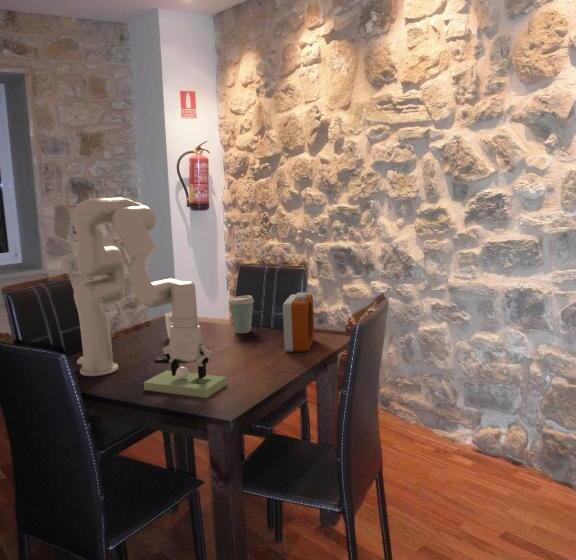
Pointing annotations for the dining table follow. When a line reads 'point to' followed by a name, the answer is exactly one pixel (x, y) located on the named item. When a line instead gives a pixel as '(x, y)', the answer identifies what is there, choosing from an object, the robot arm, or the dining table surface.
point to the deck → (186, 384)
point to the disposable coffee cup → (242, 313)
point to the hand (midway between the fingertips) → (188, 376)
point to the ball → (182, 373)
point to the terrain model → (163, 359)
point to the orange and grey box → (298, 322)
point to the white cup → (168, 322)
